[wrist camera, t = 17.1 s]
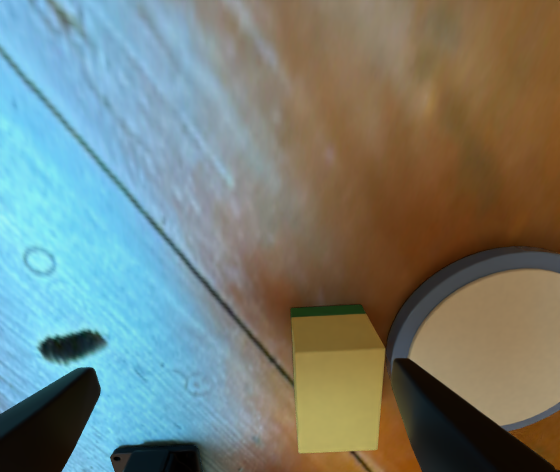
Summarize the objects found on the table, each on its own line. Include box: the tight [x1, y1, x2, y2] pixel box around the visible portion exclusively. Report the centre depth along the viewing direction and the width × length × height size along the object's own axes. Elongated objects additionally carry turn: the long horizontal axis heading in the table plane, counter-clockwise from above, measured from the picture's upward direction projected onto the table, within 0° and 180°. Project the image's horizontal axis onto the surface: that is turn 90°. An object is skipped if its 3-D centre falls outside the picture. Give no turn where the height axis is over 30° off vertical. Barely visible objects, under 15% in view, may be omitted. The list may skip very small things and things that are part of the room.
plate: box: [386, 246, 560, 432], centre depth 17 cm, size 14×14×1 cm
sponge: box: [290, 305, 385, 453], centre depth 16 cm, size 7×4×4 cm, turn 3°
